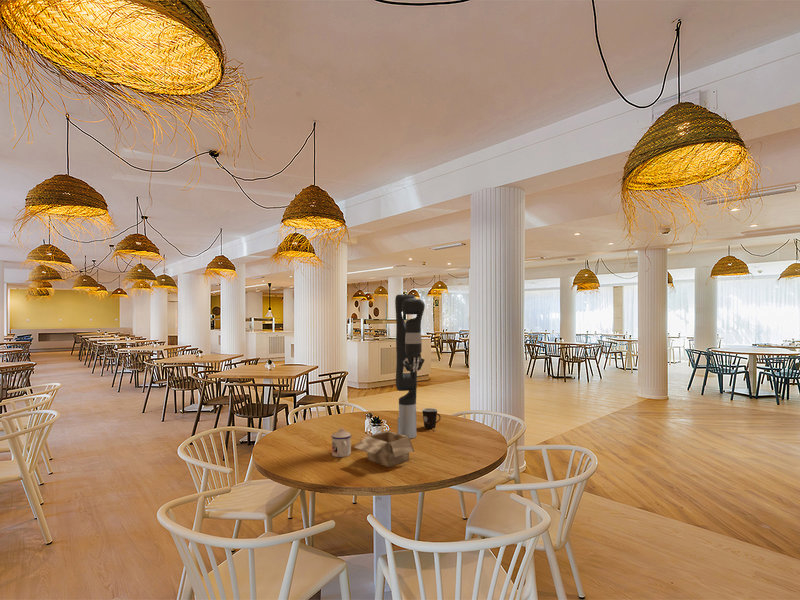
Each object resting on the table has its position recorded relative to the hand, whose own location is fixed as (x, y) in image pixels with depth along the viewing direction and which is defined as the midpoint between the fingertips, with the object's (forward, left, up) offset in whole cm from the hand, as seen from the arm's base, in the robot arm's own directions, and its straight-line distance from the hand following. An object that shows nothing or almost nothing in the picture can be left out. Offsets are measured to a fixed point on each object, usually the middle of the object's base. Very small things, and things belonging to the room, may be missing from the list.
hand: (413, 380), depth 192 cm
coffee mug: (-26, +41, -34) cm, 59 cm away
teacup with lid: (-24, -23, -34) cm, 48 cm away
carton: (-4, -11, -34) cm, 36 cm away
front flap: (-4, -20, -24) cm, 31 cm away
